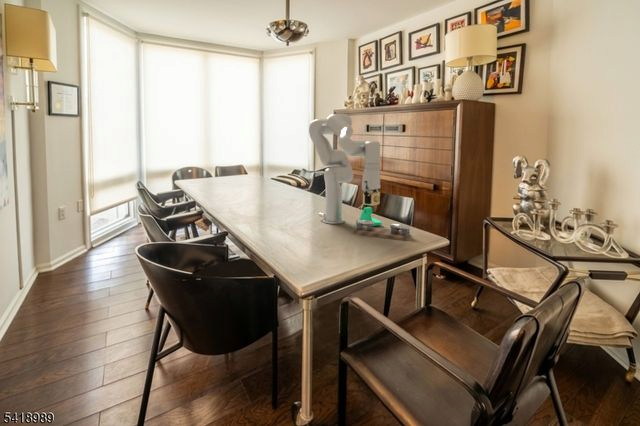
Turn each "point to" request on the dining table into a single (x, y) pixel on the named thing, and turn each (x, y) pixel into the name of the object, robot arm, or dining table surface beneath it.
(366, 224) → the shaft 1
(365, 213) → the camera mount
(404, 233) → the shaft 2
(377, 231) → the shaft bed
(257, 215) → the dining table surface
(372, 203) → the gold square block
